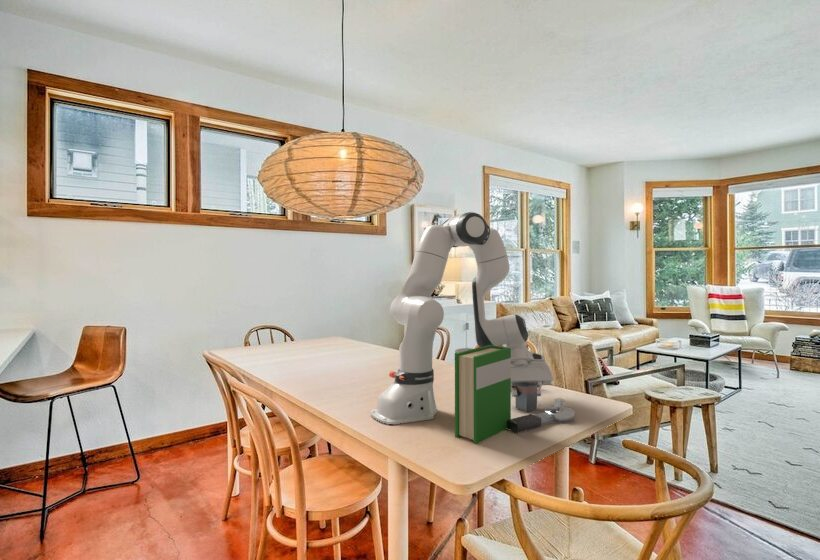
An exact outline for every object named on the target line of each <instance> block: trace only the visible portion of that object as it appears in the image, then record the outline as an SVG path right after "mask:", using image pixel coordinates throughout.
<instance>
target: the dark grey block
mask: <svg viewBox="0 0 820 560" xmlns="http://www.w3.org/2000/svg"><path fill="white" fill-rule="evenodd" d="M514 390H517V397H515V409H517V410H520V411H522V412H525V413H527V412H528V413H529V412H532V411H536V409H537V410H538V396H537V390H538V388H537V386H536V385H532V384H529V383H522V384H517V385H516V387H515V388H514Z"/></svg>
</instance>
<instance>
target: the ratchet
mask: <svg viewBox="0 0 820 560" xmlns="http://www.w3.org/2000/svg"><path fill="white" fill-rule="evenodd" d="M564 400H565V399H563V398H559V397H557V398H554V405H549V406H545V407H544V408H543V409H544V411H543V412H540V413H536V414H531V413H529V414H525V415H521V416H518V417H513V418H511V419H510V420H507V429H506V430H509V431H511V432H514V433H515V434H520V433H523V432H527V431H529V430H530V431H531V430H535V429H537V428H541V427H543V426H546V425H551V424H553V423H559V424H568V423H569V422H570V423H572V422H574V421H575V410H574V409H572V408H570V407H567V406H565V401H564ZM570 423H569V424H570Z"/></svg>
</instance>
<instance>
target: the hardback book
mask: <svg viewBox="0 0 820 560" xmlns="http://www.w3.org/2000/svg"><path fill="white" fill-rule="evenodd" d="M511 397H512V394H511V348H507V347H503V346H501V345H499V346H493V345H488V346H484V347H480V346H479V347H476V348H471V350H467V351H463V352H458V353H455V352H454V437H455V438H457V439H458V438H460V437H461V438H462V437H464V438H466V439H469V440H473V444H474V445H478V444H480V443H482V442H484V441H487V440H488V439H491V438H492V437H494V436H496V435H498V434H500V433H502V432H504V431H506V430H508V429H507V420H510V419H512V418H511V417H512V412H511V411H512V408H511V405H512V404H511V403H512V400H511V399H512V398H511Z"/></svg>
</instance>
